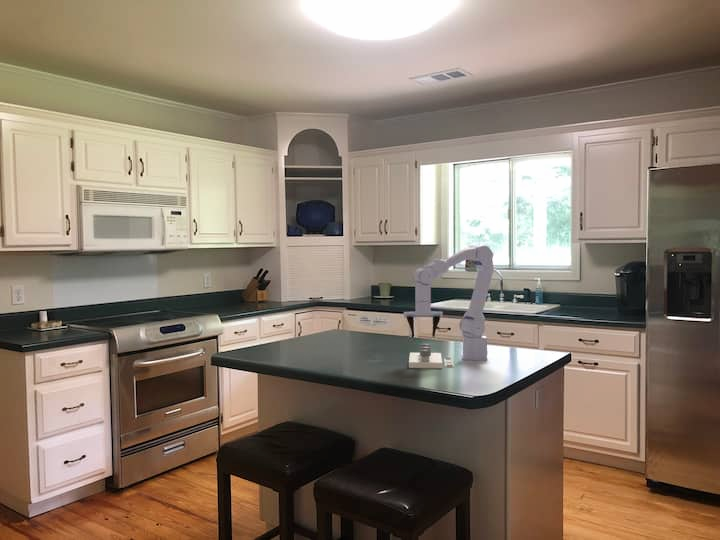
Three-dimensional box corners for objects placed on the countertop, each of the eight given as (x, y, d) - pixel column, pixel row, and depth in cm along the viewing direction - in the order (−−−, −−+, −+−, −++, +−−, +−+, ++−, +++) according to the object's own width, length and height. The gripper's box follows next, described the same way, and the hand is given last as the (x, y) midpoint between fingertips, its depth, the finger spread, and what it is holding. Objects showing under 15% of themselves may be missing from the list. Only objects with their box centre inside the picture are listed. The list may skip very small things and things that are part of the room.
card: (452, 359, 225) (452, 357, 225) (454, 367, 211) (454, 365, 211) (443, 359, 226) (443, 357, 226) (445, 367, 212) (445, 365, 212)
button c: (430, 360, 215) (430, 349, 215) (430, 362, 211) (430, 351, 211) (420, 360, 216) (419, 349, 215) (419, 362, 212) (419, 351, 211)
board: (441, 358, 228) (440, 352, 228) (442, 368, 210) (442, 362, 210) (410, 357, 229) (410, 352, 229) (408, 367, 211) (408, 362, 211)
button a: (430, 354, 227) (430, 343, 227) (430, 356, 223) (430, 345, 223) (420, 353, 228) (420, 343, 227) (420, 356, 224) (420, 345, 223)
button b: (430, 357, 221) (430, 346, 221) (430, 359, 217) (430, 348, 217) (420, 357, 222) (420, 346, 221) (420, 359, 218) (420, 348, 217)
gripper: (441, 299, 223) (441, 334, 224) (403, 299, 224) (403, 334, 224) (443, 301, 216) (443, 337, 216) (403, 301, 217) (404, 337, 217)
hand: (423, 336), depth 220 cm, fingers open, 7 cm apart
